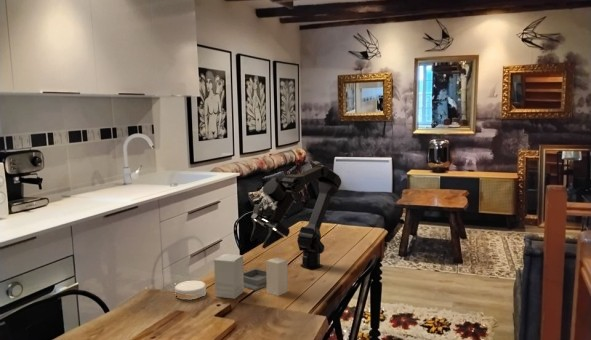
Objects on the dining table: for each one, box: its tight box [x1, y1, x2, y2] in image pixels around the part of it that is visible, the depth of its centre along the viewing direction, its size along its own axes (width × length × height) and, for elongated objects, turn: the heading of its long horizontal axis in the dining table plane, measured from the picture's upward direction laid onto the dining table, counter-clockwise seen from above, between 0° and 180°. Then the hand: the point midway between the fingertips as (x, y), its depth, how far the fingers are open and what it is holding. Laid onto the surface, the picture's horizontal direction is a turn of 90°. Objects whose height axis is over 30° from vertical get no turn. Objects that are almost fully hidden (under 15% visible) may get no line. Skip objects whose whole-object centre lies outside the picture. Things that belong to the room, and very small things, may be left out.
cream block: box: [265, 256, 289, 297], centre depth 158 cm, size 5×5×11 cm
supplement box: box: [213, 253, 245, 300], centre depth 156 cm, size 7×7×13 cm
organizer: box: [243, 267, 267, 291], centre depth 169 cm, size 14×12×3 cm
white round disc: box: [174, 280, 207, 297], centre depth 156 cm, size 10×10×4 cm
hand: (256, 244), depth 166 cm, fingers open, 9 cm apart
